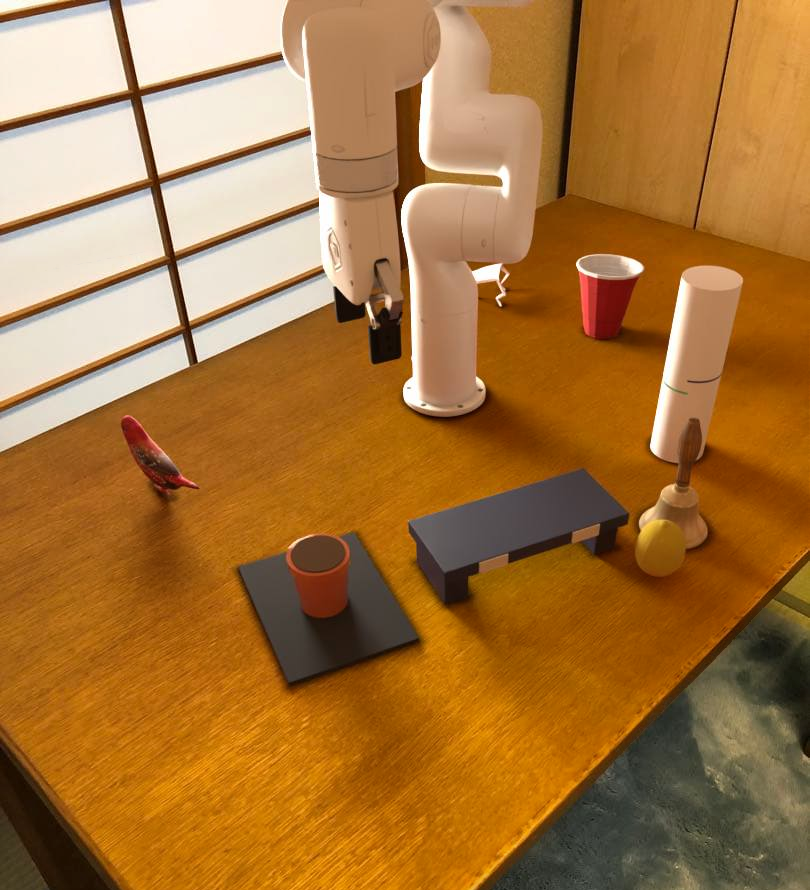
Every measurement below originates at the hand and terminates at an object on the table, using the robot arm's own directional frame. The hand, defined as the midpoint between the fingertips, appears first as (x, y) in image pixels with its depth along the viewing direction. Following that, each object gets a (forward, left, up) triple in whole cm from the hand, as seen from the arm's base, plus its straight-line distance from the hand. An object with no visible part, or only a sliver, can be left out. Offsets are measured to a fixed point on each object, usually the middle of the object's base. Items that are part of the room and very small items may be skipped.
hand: (367, 339), depth 91 cm
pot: (+7, -10, -28) cm, 30 cm away
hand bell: (+13, +34, -28) cm, 46 cm away
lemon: (+19, +27, -28) cm, 44 cm away
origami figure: (-55, +44, -28) cm, 76 cm away
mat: (+7, -10, -28) cm, 31 cm away
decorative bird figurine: (-21, -22, -28) cm, 42 cm away
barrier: (+9, +14, -28) cm, 33 cm away
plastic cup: (-35, +55, -28) cm, 71 cm away
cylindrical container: (-1, +45, -28) cm, 53 cm away
